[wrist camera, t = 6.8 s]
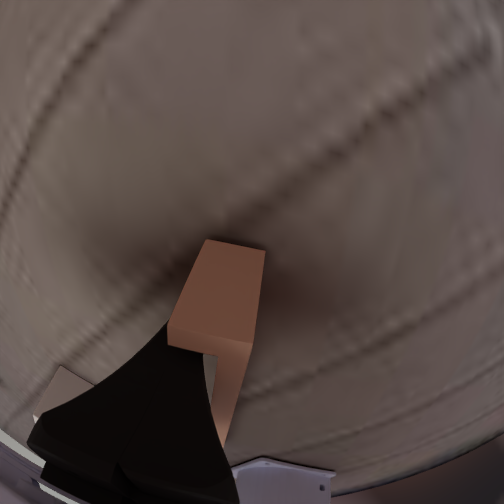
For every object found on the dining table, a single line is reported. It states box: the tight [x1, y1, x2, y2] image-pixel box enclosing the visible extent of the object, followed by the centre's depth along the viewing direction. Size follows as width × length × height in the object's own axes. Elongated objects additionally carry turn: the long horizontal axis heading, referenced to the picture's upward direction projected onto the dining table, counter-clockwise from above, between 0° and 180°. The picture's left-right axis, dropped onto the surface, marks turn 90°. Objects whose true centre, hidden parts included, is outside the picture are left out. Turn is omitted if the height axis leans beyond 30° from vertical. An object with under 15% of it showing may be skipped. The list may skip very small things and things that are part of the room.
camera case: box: [33, 365, 94, 423], centre depth 20 cm, size 12×10×6 cm
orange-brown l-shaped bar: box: [167, 239, 266, 448], centre depth 14 cm, size 19×2×4 cm, turn 170°
